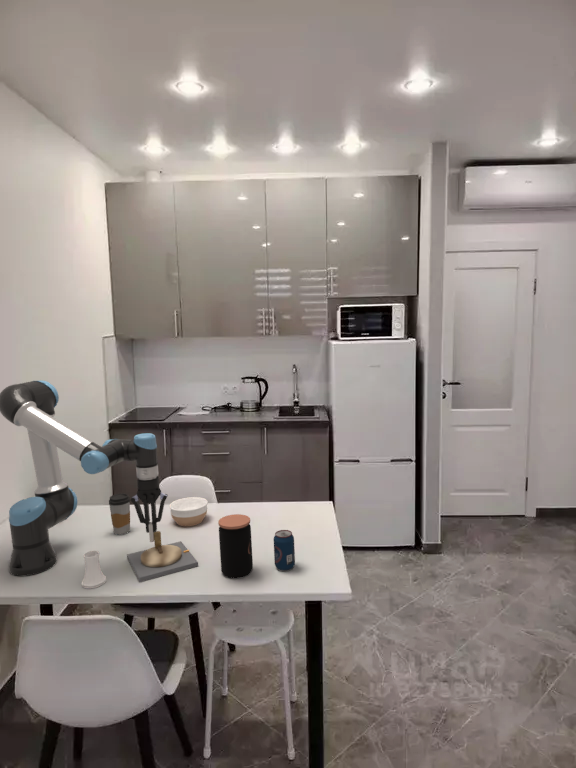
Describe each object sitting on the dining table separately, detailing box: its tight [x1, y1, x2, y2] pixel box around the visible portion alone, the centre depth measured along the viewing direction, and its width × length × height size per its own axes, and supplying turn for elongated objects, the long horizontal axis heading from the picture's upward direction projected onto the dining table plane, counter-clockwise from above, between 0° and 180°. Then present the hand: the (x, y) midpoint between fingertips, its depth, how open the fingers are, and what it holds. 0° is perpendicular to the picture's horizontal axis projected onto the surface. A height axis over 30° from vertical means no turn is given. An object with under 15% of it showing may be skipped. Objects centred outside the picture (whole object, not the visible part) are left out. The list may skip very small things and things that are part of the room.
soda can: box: [273, 529, 296, 572], centre depth 173 cm, size 7×7×12 cm
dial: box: [141, 530, 182, 567], centre depth 180 cm, size 14×14×7 cm
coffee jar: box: [217, 513, 254, 579], centre depth 170 cm, size 11×11×18 cm
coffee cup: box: [108, 493, 131, 535], centre depth 208 cm, size 8×8×15 cm
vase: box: [81, 550, 107, 590], centre depth 168 cm, size 8×8×10 cm
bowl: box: [169, 496, 209, 527], centre depth 217 cm, size 16×16×8 cm
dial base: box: [126, 541, 199, 583], centre depth 181 cm, size 20×20×2 cm
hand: (152, 540), depth 185 cm, fingers closed
